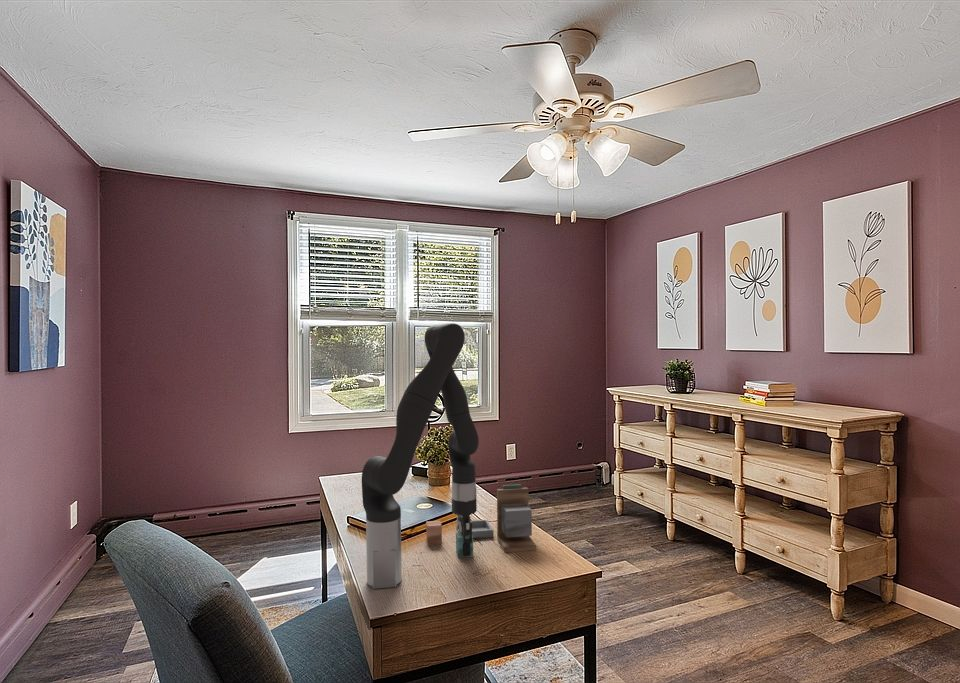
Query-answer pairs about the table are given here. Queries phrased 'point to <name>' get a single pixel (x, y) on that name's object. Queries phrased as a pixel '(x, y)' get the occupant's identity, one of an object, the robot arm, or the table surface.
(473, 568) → the table surface
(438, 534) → the terracotta block
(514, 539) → the mounted unit
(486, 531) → the tray
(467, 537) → the teal block
